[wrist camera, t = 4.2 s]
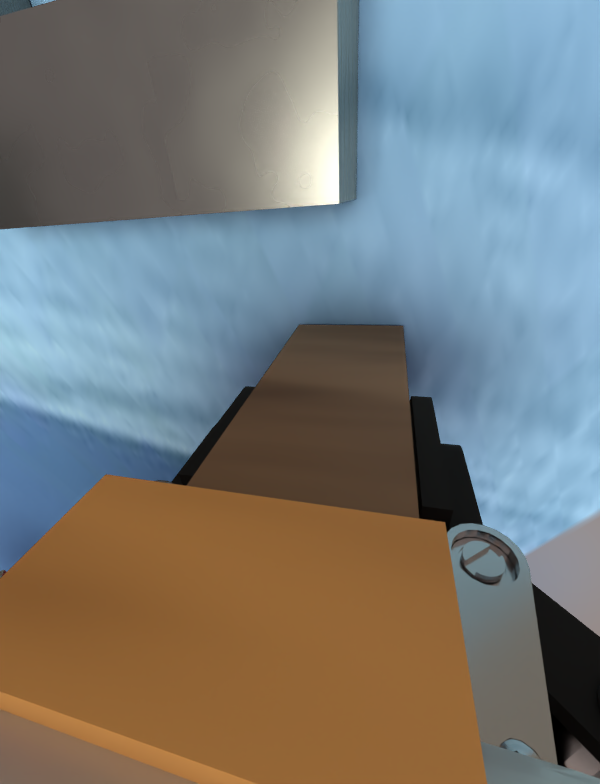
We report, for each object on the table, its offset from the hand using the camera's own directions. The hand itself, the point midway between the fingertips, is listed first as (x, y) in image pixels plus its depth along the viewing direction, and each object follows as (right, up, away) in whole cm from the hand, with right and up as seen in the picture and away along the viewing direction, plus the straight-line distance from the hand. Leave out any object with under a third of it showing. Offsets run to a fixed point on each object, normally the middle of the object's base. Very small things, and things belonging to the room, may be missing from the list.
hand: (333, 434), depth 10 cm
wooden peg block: (+1, +2, +4) cm, 4 cm away
